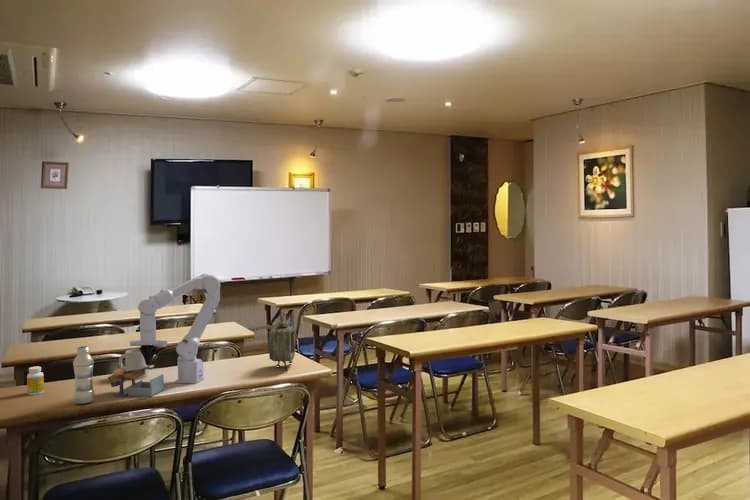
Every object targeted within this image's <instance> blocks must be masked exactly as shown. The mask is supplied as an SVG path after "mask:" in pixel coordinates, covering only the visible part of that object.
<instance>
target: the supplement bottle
mask: <svg viewBox="0 0 750 500" xmlns="http://www.w3.org/2000/svg"><path fill="white" fill-rule="evenodd" d="M41 371H42V367H41V366H38V365H37V366H31V367H28V372H29V373H27V375H26V383H27V384H26V385H27V386H26V387H27V388H26V390H27V395H29V396H30V395H31V396H35V395H40V394H43V393H44V392H45V381H44V380H45V378H44V372H41Z"/></svg>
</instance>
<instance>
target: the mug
mask: <svg viewBox="0 0 750 500" xmlns="http://www.w3.org/2000/svg"><path fill="white" fill-rule="evenodd" d="M123 359H125V361H124V362H125V366H124V365H123ZM118 366H119V368H120V369H122V370H123V371H124V372H125V371H131V370H137V369H142V368H143V367H146V366H149V365H146V363H145V360H144V357H143V355H142V353H141V351H140V350H139V348H133V349H128V350H126V351H124V353H123V354H121V355H120V356H119V358H118ZM148 370H149V368H148V369H146V370H145V373H146V374H145V375H142V376H140V377H138V378H136V379H135V380H142V379H145V378H147V377H149V371H148ZM130 380H131V381H132V379H130Z"/></svg>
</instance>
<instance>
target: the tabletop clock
mask: <svg viewBox="0 0 750 500" xmlns="http://www.w3.org/2000/svg"><path fill="white" fill-rule="evenodd" d="M295 330H296V329H295V326H289V323H288V322H287V321H285V311H284V310H281V312H280V321H279V322H277V324H276V326H274V328H272V329H271V330H270V331H269V333H268V352H269V353H268V354H269V356H268V357H269V360H271V361H273V362H277V364H276V366H280V367H281V365H280V363H281V362H282V363H283V364H284V366H285V367H284V370H285V369H288V370H289V367H288V366H287V362H288V364H289V363H292V364H293V359H294V358H295V355H296V337H295V336H296V331H295ZM276 366H275V367H276Z"/></svg>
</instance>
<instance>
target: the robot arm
mask: <svg viewBox="0 0 750 500" xmlns="http://www.w3.org/2000/svg"><path fill="white" fill-rule="evenodd" d="M192 290H201V291H202V292H203V294H204V296H205V300H204V302H203V304H202V306H201V308H200V310H199V312H198V314H197V315H196V317H195V319H194V321H193V323H192V324H191V327H190V329H189V331H188V332H187V334H185V336H184V337H183V338H182V340H181V341H179V342H178V343H177V345H176V347H175V351H176V353H177V354H178V357H177V379H176V380H174V381H173V383H174V384H175V383H176V384H197V383H200V381H202V380H203V379H205V377H204V362H203V360H202V359H201V358H197V355H198V351H199V350H198V349H199V346H200V341H201V340H200V339H201V337H202V336H203V333H204V331H205V329H206V328H207V325H208V324H209V322H210V320H211V318H212V316H213V314H214V312H215V311H216V309H217V306H218V305H219V304H220V303H219V302H220V301H221V283H220V280H219V278H218V277H217V276H216V275H214V274H209V273H203V274H200V275H197V276H195V277H193V278H191V279H189V280H187V281H186V282H184V283H181V284H180V285H178V286H177V287H174V288H173V289H167V288H166V289H164V288H162V289H160V290H159V291H160V292H158V293H156V294H153V295H149V296H148V298H144V299H141V300H140V302H139V303H138V306H137V310H138V311H139V317H140V318H139V332H140V333H139V334H140V335H139V337H140V339H139V340H135V339H134V340H133V339H132V340H130V341H129V347H139V348H138V349H139V350H140V351H141V353H142V355H143V357H144V360H145V363H146V365H148V366H150V365H153V359H154V357H155V355H156V351H157V349H158V347H162V348H166V347H168V340H160V339H159V340H158V339H157V322H156V321H157V320H156V312H157V311H158V310H160V309H162V308H163V307H164V308H165V307H166V306H168V305H170V304H171V303H173V302H174V301H175V298H177V297H179V296H181V295H183V294H185V293H188V292H190V291H192Z"/></svg>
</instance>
